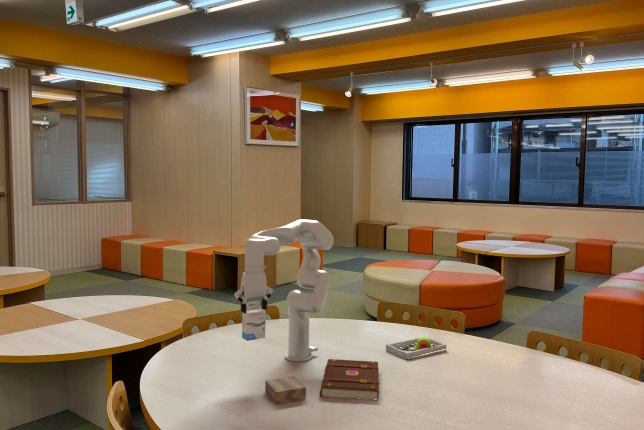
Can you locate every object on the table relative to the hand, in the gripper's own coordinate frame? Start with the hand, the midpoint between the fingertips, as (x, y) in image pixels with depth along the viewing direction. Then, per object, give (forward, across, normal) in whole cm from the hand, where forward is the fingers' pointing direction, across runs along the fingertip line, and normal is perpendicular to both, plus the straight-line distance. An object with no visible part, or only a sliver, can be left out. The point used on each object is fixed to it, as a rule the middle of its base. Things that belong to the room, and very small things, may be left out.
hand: (254, 311), depth 216 cm
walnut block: (+29, -4, +20) cm, 36 cm away
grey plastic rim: (+29, -85, +6) cm, 90 cm away
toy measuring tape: (+29, -85, +6) cm, 90 cm away
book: (+30, -33, +22) cm, 50 cm away
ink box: (+11, 0, 0) cm, 11 cm away
